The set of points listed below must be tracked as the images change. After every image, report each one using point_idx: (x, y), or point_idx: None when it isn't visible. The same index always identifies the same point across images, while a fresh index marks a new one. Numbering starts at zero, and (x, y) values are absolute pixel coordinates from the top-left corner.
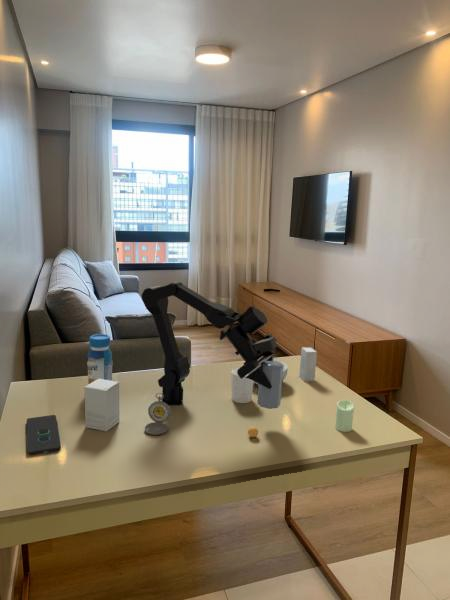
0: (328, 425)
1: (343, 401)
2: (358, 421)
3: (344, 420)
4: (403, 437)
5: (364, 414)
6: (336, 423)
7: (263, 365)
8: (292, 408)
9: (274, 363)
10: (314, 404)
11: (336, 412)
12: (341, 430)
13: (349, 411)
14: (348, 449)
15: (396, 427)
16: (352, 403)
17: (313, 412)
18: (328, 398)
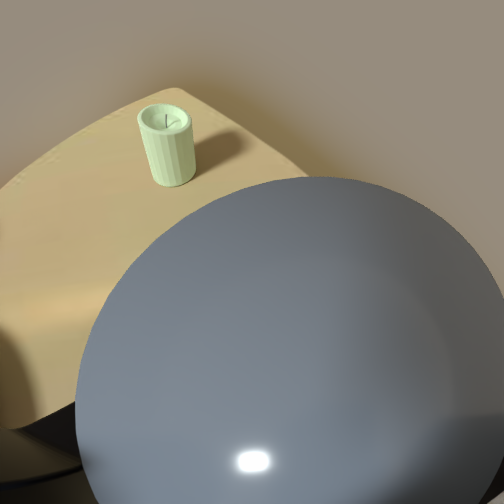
0: (169, 202)
1: (143, 121)
2: (127, 150)
3: (193, 144)
4: (182, 94)
5: (90, 147)
6: (182, 173)
7: (474, 489)
8: (80, 321)
9: (248, 393)
10: (44, 257)
11: (170, 153)
12: (194, 170)
13: (189, 115)
14: (283, 157)
15: (142, 103)
16: (154, 104)
17: (93, 252)
18: (14, 229)
